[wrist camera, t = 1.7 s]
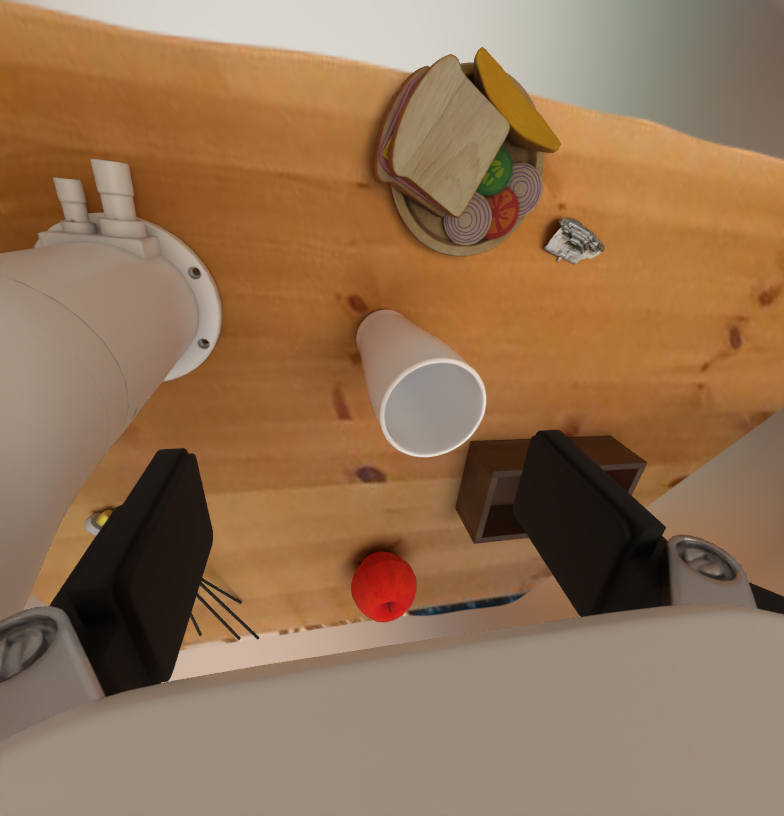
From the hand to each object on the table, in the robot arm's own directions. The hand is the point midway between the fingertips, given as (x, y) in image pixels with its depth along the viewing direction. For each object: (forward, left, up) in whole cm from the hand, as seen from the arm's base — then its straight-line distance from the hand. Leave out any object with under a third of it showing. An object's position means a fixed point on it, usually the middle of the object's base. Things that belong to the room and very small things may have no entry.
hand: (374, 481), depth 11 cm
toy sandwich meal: (-10, +10, -25) cm, 29 cm away
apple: (+33, +8, -25) cm, 42 cm away
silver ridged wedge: (-7, +23, -24) cm, 34 cm away
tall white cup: (+3, +6, -25) cm, 26 cm away
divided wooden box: (+20, +27, -25) cm, 42 cm away
